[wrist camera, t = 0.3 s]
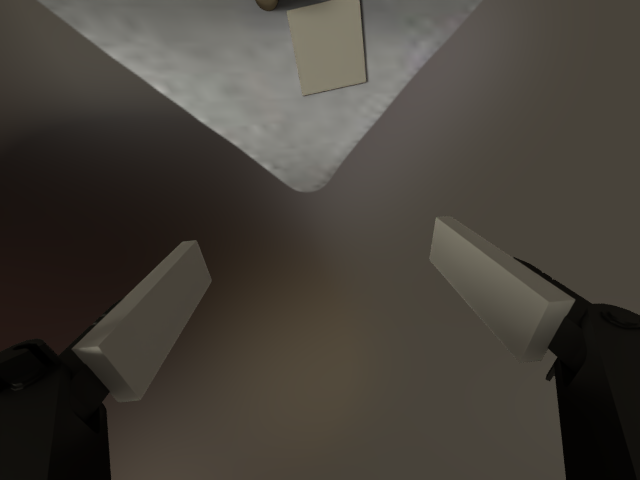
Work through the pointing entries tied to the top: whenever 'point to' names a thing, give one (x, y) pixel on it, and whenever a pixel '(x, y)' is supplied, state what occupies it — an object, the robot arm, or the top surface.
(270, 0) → the spacer posts
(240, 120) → the top surface
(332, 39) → the felt mat
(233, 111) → the top surface
